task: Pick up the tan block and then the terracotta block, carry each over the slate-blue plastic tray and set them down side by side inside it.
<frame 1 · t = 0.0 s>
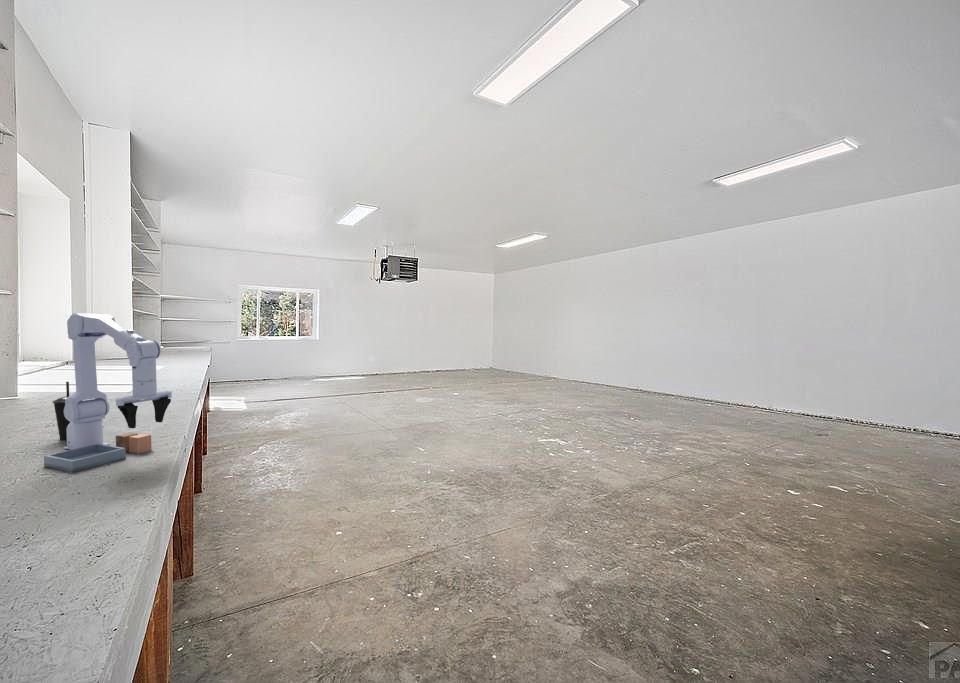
hand: (145, 424, 128), 10 cm above the table, tool pointing down, fingers open, 7 cm apart
tan block: (127, 449, 136), on the table
drinking cup: (69, 438, 148), on the table
terracotta block: (140, 451, 135), on the table
tray: (86, 461, 124), on the table
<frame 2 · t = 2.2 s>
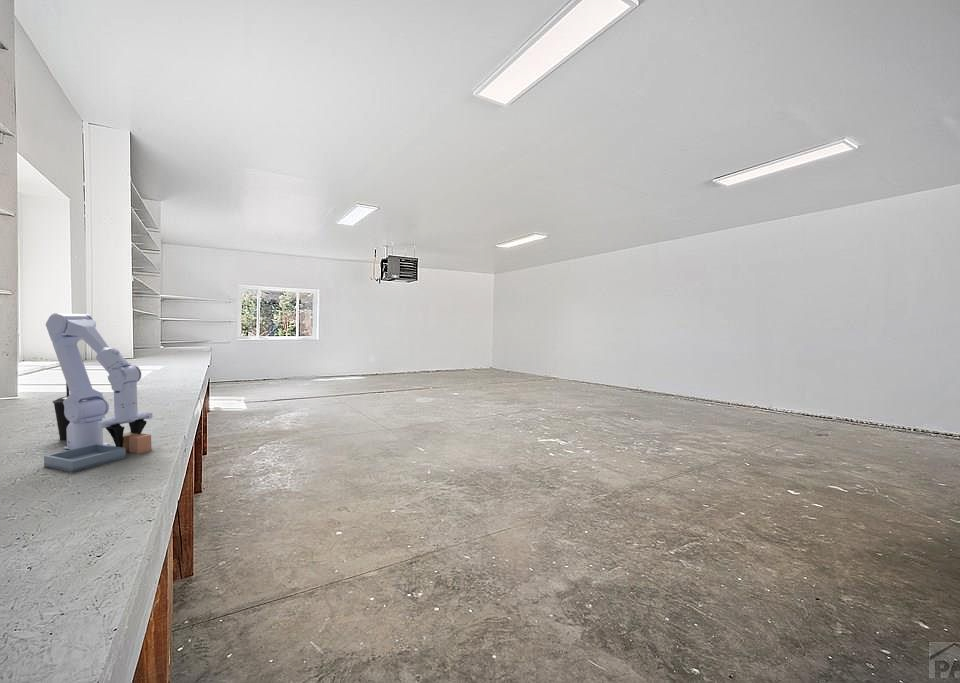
hand: (127, 445, 136), 1 cm above the table, tool pointing down, fingers closed on tan block, 4 cm apart
tan block: (127, 449, 136), on the table, touching gripper
everything else where it was.
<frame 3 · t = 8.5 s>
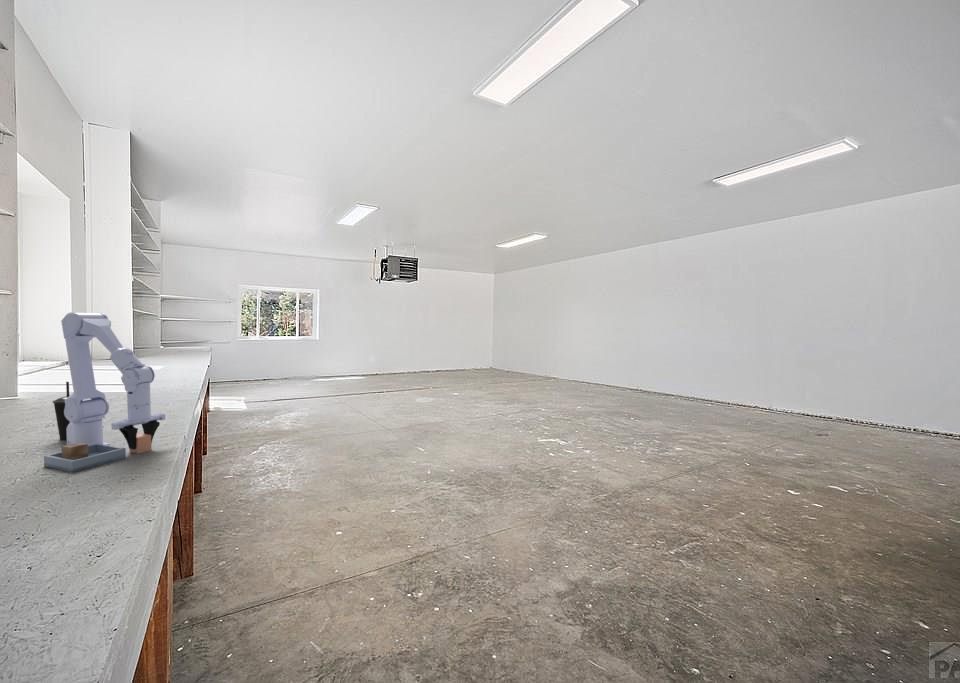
hand: (140, 446, 135), 1 cm above the table, tool pointing down, fingers closed on terracotta block, 4 cm apart
tan block: (75, 461, 122), point 1 cm above the table, touching tray
terracotta block: (140, 450, 135), on the table, touching gripper
everything else where it was.
when the fingers open (4 cm above the table, at t = 11.6 s): terracotta block drops 1 cm, resting on tray.
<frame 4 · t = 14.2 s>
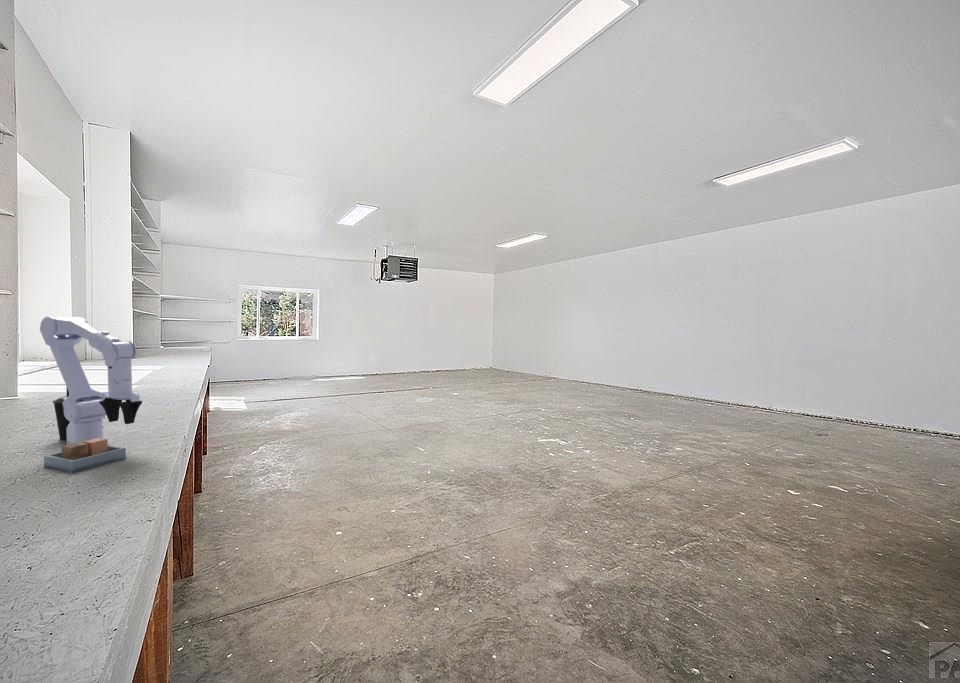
hand: (121, 422, 133), 9 cm above the table, tool pointing down, fingers open, 7 cm apart
terracotta block: (96, 456, 126), point 1 cm above the table, touching tray
everything else where it was.
at the end: tan block inside the target area on the tray (2.6 cm from its centre), point 0.8 cm above the tray's base; terracotta block inside the target area on the tray (2.4 cm from its centre), point 0.8 cm above the tray's base; terracotta block tilted 0° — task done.
